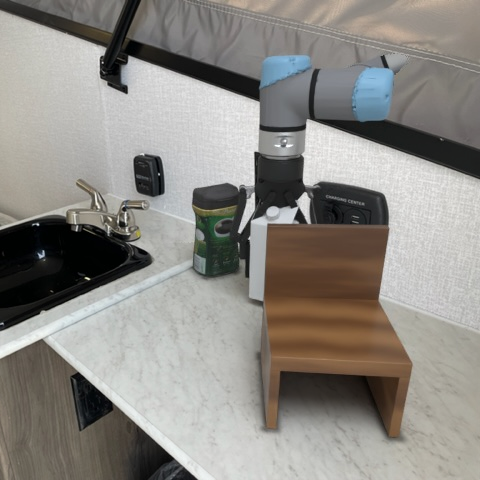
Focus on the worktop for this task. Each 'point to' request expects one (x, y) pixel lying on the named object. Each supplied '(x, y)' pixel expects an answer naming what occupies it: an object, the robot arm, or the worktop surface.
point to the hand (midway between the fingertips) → (275, 275)
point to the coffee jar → (215, 229)
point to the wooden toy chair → (330, 313)
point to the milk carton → (264, 245)
